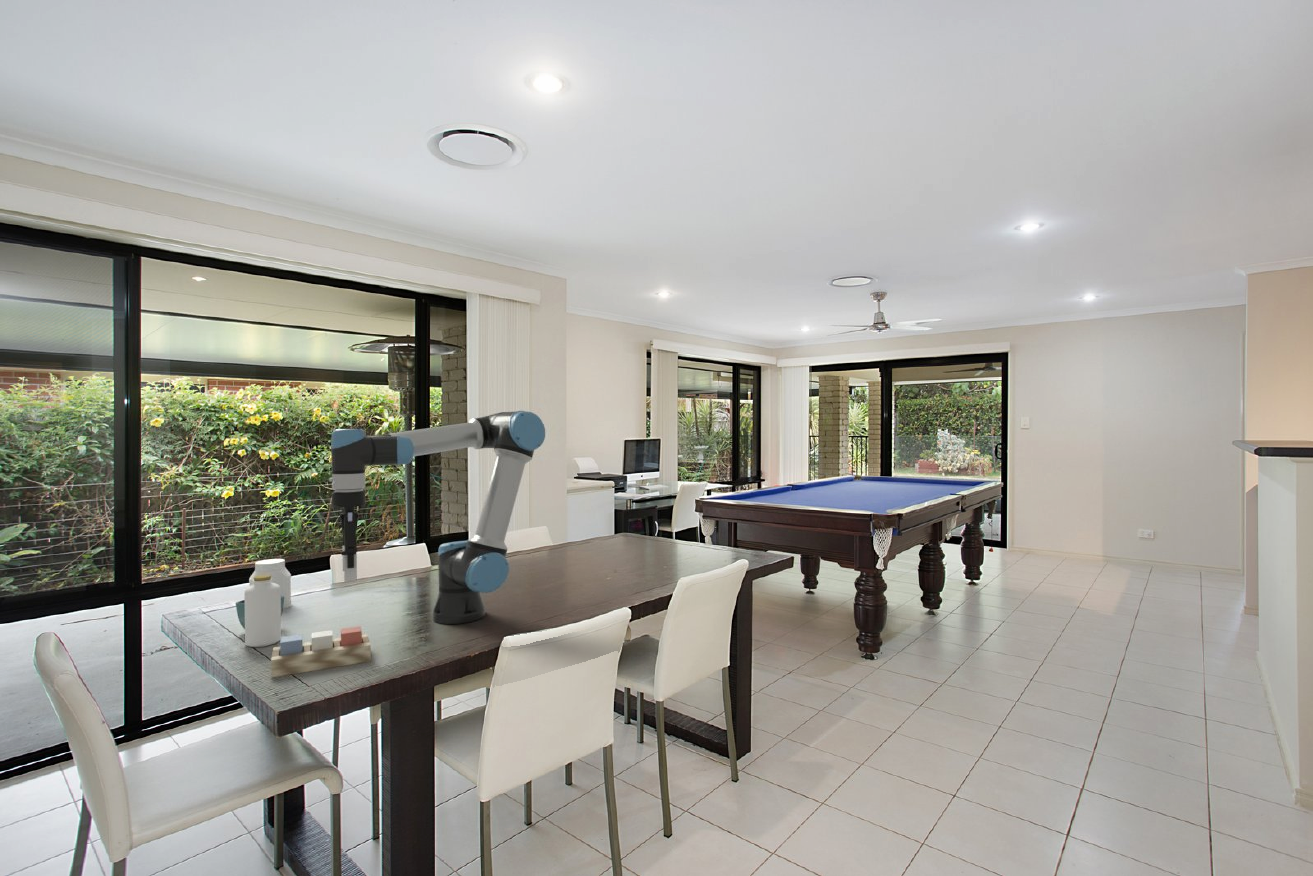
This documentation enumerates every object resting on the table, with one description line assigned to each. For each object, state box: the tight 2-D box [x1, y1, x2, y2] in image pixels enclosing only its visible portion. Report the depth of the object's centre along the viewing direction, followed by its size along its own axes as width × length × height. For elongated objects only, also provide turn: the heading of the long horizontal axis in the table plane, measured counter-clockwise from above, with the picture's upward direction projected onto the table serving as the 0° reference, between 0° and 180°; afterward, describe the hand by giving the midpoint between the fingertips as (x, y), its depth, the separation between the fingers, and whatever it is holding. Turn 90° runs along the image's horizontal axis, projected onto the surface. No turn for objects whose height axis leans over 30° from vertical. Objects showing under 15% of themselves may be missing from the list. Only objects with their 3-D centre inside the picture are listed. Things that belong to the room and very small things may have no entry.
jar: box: [248, 558, 292, 610], centre depth 205 cm, size 12×10×15 cm
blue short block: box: [279, 634, 304, 656], centre depth 152 cm, size 4×4×5 cm
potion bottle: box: [243, 575, 282, 648], centre depth 170 cm, size 8×8×18 cm
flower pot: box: [235, 596, 285, 630], centre depth 181 cm, size 9×9×9 cm
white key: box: [311, 629, 334, 651], centre depth 156 cm, size 4×4×5 cm
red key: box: [340, 625, 363, 646], centre depth 159 cm, size 4×4×5 cm
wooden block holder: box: [270, 633, 372, 678], centre depth 156 cm, size 21×10×4 cm, turn 119°
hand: (349, 575), depth 159 cm, fingers open, 12 cm apart
